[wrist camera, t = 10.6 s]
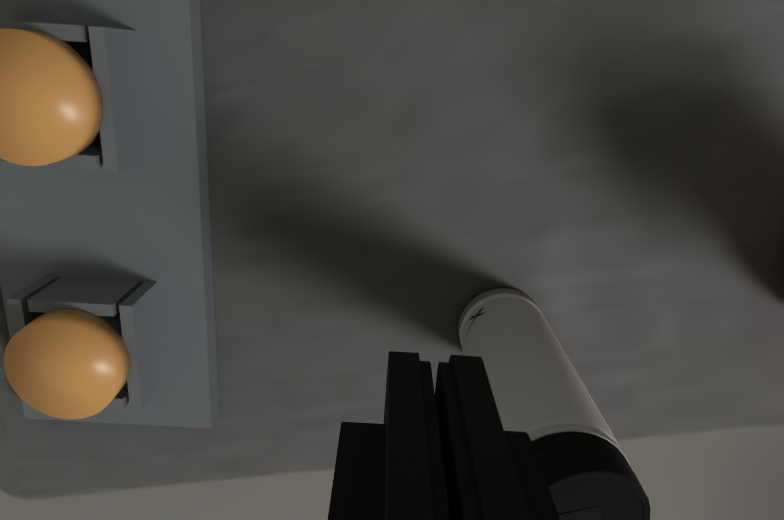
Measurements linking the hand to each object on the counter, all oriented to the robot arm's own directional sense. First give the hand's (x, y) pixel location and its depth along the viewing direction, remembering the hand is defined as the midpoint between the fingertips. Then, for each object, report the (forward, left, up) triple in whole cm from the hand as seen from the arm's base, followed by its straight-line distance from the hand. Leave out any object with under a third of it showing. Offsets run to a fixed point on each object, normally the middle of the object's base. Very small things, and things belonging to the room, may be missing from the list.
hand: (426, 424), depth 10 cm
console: (+5, -20, -29) cm, 36 cm away
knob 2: (+13, -20, -27) cm, 36 cm away
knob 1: (-3, -20, -27) cm, 34 cm away
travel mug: (+12, +8, -29) cm, 33 cm away
